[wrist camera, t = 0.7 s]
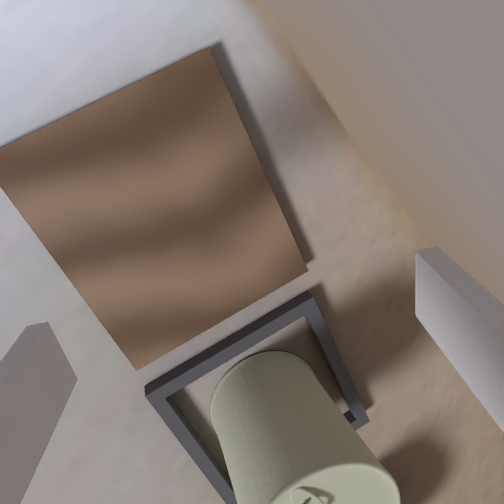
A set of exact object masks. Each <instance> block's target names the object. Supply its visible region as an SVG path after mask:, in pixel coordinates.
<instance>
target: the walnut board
mask: <svg viewBox="0 0 504 504" xmlns="http://www.w3.org/2000/svg"><path fill="white" fill-rule="evenodd" d="M0 187H1V188H2V189H3V191H4V192H5V193H6V195H7V196H8V198H9V199H10V200H11V202H12V203H13V204H14V206H15V207H16V208H17V210H18V211H19V212H20V214H21V215H22V216H23V218H24V219H25V221H26V222H27V223H28V225H29V226H30V227H31V229H32V230H33V231H34V233H35V234H36V235H37V237H38V238H39V239H40V241H41V242H42V243H43V245H44V246H45V248H46V249H47V250H48V252H49V253H50V254H51V256H52V257H53V258H54V260H55V261H56V262H57V264H58V265H59V266H60V268H61V269H62V271H63V272H64V273H65V275H66V276H67V277H68V279H69V280H70V281H71V283H72V284H73V285H74V287H75V288H76V289H77V291H78V292H79V294H80V295H81V296H82V298H83V299H84V300H85V302H86V303H87V304H88V306H89V307H90V308H91V310H92V311H93V312H94V314H95V315H96V317H97V318H98V319H99V321H100V322H101V323H102V325H103V326H104V327H105V329H106V330H107V331H108V333H109V334H110V335H111V337H112V338H113V340H114V341H115V342H116V344H117V345H118V346H119V348H120V349H121V350H122V352H123V353H124V354H125V356H126V357H127V358H128V360H129V361H130V362H131V364H132V365H133V367H134V368H135V369H136V371H137V370H139V369H140V368H142V367H144V366H146V365H147V364H149V363H151V362H152V361H154V360H156V359H158V358H159V357H161V356H163V355H164V354H166V353H168V352H170V351H171V350H173V349H175V348H176V347H178V346H180V345H182V344H183V343H185V342H187V341H189V340H190V339H192V338H194V337H195V336H197V335H199V334H201V333H202V332H204V331H206V330H207V329H209V328H211V327H213V326H214V325H216V324H218V323H220V322H221V321H223V320H225V319H226V318H228V317H230V316H232V315H233V314H235V313H237V312H238V311H240V310H242V309H244V308H245V307H247V306H249V305H251V304H252V303H254V302H256V301H257V300H259V299H261V298H263V297H264V296H266V295H268V294H269V293H271V292H273V291H275V290H276V289H278V288H280V287H282V286H283V285H285V284H287V283H288V282H290V281H292V280H294V279H295V278H297V277H299V276H300V275H302V274H304V273H306V272H307V271H308V269H307V267H306V264H305V262H304V260H303V258H302V255H301V253H300V251H299V249H298V246H297V244H296V242H295V240H294V237H293V235H292V233H291V231H290V228H289V226H288V224H287V222H286V219H285V217H284V215H283V213H282V210H281V208H280V206H279V204H278V201H277V199H276V197H275V195H274V192H273V190H272V188H271V186H270V183H269V181H268V179H267V177H266V174H265V172H264V170H263V168H262V166H261V163H260V161H259V159H258V157H257V154H256V152H255V150H254V148H253V145H252V143H251V141H250V139H249V136H248V134H247V132H246V130H245V127H244V125H243V123H242V121H241V118H240V116H239V114H238V112H237V109H236V107H235V105H234V103H233V100H232V98H231V96H230V94H229V91H228V89H227V87H226V85H225V82H224V80H223V78H222V76H221V73H220V71H219V69H218V67H217V64H216V62H215V60H214V58H213V55H212V53H211V51H210V49H209V47H208V48H206V49H204V50H202V51H199V52H197V53H195V54H193V55H191V56H189V57H187V58H185V59H183V60H181V61H179V62H177V63H175V64H173V65H171V66H169V67H167V68H164V69H162V70H160V71H158V72H156V73H154V74H152V75H150V76H148V77H146V78H144V79H142V80H140V81H138V82H136V83H134V84H132V85H129V86H127V87H125V88H123V89H121V90H119V91H117V92H115V93H113V94H111V95H109V96H107V97H105V98H103V99H101V100H99V101H97V102H94V103H92V104H90V105H88V106H86V107H84V108H82V109H80V110H78V111H76V112H74V113H72V114H70V115H68V116H66V117H64V118H62V119H59V120H57V121H55V122H53V123H51V124H49V125H47V126H45V127H43V128H41V129H39V130H37V131H35V132H33V133H31V134H29V135H27V136H24V137H22V138H20V139H18V140H16V141H14V142H12V143H10V144H8V145H6V146H4V147H2V148H0Z"/></svg>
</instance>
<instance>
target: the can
mask: <svg viewBox="0 0 504 504" xmlns="http://www.w3.org/2000/svg"><path fill="white" fill-rule="evenodd" d="M210 416H211V421H212V424H213V427H214V429H215V431H216V433H217V435H218V438H219V441H220V445H221V448H222V451H223V455H224V458H225V462H226V465H227V469H228V472H229V476H230V479H231V483H232V486H233V490H234V493H235V497H236V501H237V504H400V493H399V489H398V486H397V483H396V481H395V480H394V478H393V477H392V475H391V474H390V473H389V472H388V471H387V470H386V469H385V468H384V467H383V466H382V464H381V463H380V462H379V461H378V460H377V458H376V457H375V456H374V454H373V453H372V452H371V451H370V449H369V448H368V447H367V445H366V444H365V443H364V441H363V440H362V439H361V437H360V436H359V435H358V434H357V432H356V431H355V430H354V428H353V427H352V426H351V424H350V423H349V422H348V420H347V419H346V418H345V416H344V415H343V414H342V412H341V411H340V410H339V408H338V407H337V406H336V404H335V403H334V402H333V400H332V399H331V398H330V396H329V395H328V394H327V392H326V391H325V390H324V388H323V387H322V385H321V384H320V383H319V381H318V380H317V378H316V376H315V374H314V372H313V370H312V369H311V367H310V366H309V365H308V364H307V363H306V362H305V361H304V360H303V359H301V358H300V357H298V356H296V355H294V354H291V353H288V352H283V351H267V352H262V353H258V354H255V355H252V356H250V357H248V358H246V359H244V360H242V361H240V362H239V363H237V364H236V365H235V366H233V367H232V368H231V369H230V370H229V371H228V372H227V373H226V374H225V375H224V376H223V378H222V379H221V380H220V382H219V383H218V385H217V387H216V389H215V391H214V393H213V396H212V400H211V406H210Z"/></svg>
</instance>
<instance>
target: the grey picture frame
mask: <svg viewBox="0 0 504 504" xmlns="http://www.w3.org/2000/svg"><path fill="white" fill-rule="evenodd" d="M304 315H305V317H306V320H307V322H308V324H309V326H310V328H311V330H312V332H313V334H314V336H315V339H316V341H317V343H318V345H319V347H320V349H321V351H322V353H323V355H324V357H325V360H326V362H327V364H328V366H329V368H330V370H331V372H332V374H333V376H334V379H335V381H336V383H337V385H338V387H339V389H340V391H341V393H342V395H343V397H344V400H345V402H346V404H347V406H348V408H349V410H350V411H348V412H347V413H345V414H344V416H345V418H346V419H347V420H348V422H349V423H350V424H351V426H352V427H353V428H354V430H357V429H358V428H360V427H362V426H363V425H365V424H366V423H368V422H369V421H370V420H369V418H368V416H367V414H366V412H365V409H364V407H363V405H362V403H361V401H360V398H359V396H358V394H357V392H356V389H355V387H354V385H353V383H352V381H351V378H350V376H349V374H348V372H347V370H346V367H345V365H344V363H343V361H342V359H341V356H340V354H339V352H338V350H337V348H336V345H335V343H334V341H333V339H332V337H331V334H330V332H329V330H328V328H327V325H326V323H325V321H324V319H323V317H322V314H321V312H320V310H319V308H318V306H317V303H316V301H315V299H314V297H313V296H312V295H311V294H310V293H309V292H308V291H306V292H304V293H302V294H301V295H299V296H297V297H295V298H294V299H292V300H290V301H289V302H287V303H285V304H283V305H282V306H280V307H278V308H277V309H275V310H273V311H272V312H270V313H268V314H266V315H265V316H263V317H261V318H260V319H258V320H256V321H255V322H253V323H251V324H249V325H248V326H246V327H244V328H243V329H241V330H239V331H238V332H236V333H234V334H232V335H231V336H229V337H227V338H226V339H224V340H222V341H221V342H219V343H217V344H215V345H214V346H212V347H210V348H209V349H207V350H205V351H203V352H202V353H200V354H198V355H197V356H195V357H193V358H192V359H190V360H188V361H186V362H185V363H183V364H181V365H180V366H178V367H176V368H175V369H173V370H171V371H169V372H168V373H166V374H164V375H163V376H161V377H159V378H158V379H156V380H154V381H152V382H151V383H149V384H147V385H146V386H145V397H146V398H147V399H148V401H149V402H150V403H151V405H152V406H153V407H154V409H155V410H156V411H157V413H158V414H159V415H160V417H161V418H162V419H163V421H164V422H165V423H166V424H167V426H168V427H169V428H170V430H171V431H172V432H173V434H174V435H175V436H176V438H177V439H178V440H179V442H180V443H181V444H182V446H183V447H184V448H185V450H186V451H187V452H188V454H189V455H190V456H191V458H192V459H193V460H194V462H195V463H196V464H197V466H198V467H199V468H200V470H201V471H202V472H203V474H204V475H205V476H206V478H207V479H208V480H209V482H210V483H211V484H212V486H213V487H214V488H215V489H216V491H217V492H218V493H219V495H220V496H221V497H222V499H223V500H224V501H225V503H226V504H237V501H236V497H235V493H234V490H233V486H232V483H231V481H230V480H229V478H228V477H227V476H226V474H225V473H224V471H223V470H222V469H221V467H220V466H219V465H218V463H217V462H216V460H215V459H214V458H213V456H212V455H211V453H210V452H209V451H208V449H207V448H206V446H205V445H204V444H203V442H202V441H201V440H200V438H199V437H198V435H197V434H196V433H195V431H194V430H193V428H192V427H191V426H190V424H189V423H188V421H187V420H186V419H185V417H184V416H183V415H182V413H181V412H180V410H179V409H178V408H177V406H176V405H175V403H174V402H173V401H172V399H171V398H170V395H171V394H173V393H175V392H176V391H178V390H180V389H181V388H183V387H185V386H187V385H188V384H190V383H192V382H193V381H195V380H197V379H198V378H200V377H202V376H203V375H205V374H207V373H208V372H210V371H212V370H213V369H215V368H217V367H218V366H220V365H222V364H223V363H225V362H227V361H228V360H230V359H232V358H234V357H235V356H237V355H239V354H240V353H242V352H244V351H245V350H247V349H249V348H250V347H252V346H254V345H255V344H257V343H259V342H260V341H262V340H264V339H265V338H267V337H269V336H270V335H272V334H274V333H276V332H277V331H279V330H281V329H282V328H284V327H286V326H287V325H289V324H291V323H292V322H294V321H296V320H297V319H299V318H301V317H302V316H304Z"/></svg>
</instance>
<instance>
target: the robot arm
mask: <svg viewBox="0 0 504 504" xmlns="http://www.w3.org/2000/svg"><path fill="white" fill-rule="evenodd" d="M415 315H416V317H417V318H418V319H419V321H420V322H421V323H422V325H423V326H424V327H425V329H426V330H427V331H428V333H429V334H430V335H431V337H432V338H433V339H434V341H435V342H436V343H437V345H438V346H439V347H440V349H441V350H442V351H443V353H444V354H445V355H446V357H447V358H448V359H449V361H450V362H451V363H452V365H453V366H454V367H455V369H456V370H457V371H458V373H459V374H460V375H461V377H462V378H463V379H464V381H465V382H466V383H467V385H468V386H469V387H470V389H471V390H472V391H473V393H474V394H475V395H476V397H477V398H478V399H479V401H480V402H481V403H482V405H483V406H484V407H485V409H486V410H487V411H488V413H489V414H490V415H491V417H492V418H493V419H494V421H495V422H496V423H497V425H498V426H499V427H500V429H501V430H502V431H503V433H504V304H503V303H502V302H500V301H499V300H498V299H497V298H496V297H495V296H493V295H492V294H491V293H490V292H489V291H488V290H487V289H485V288H484V287H483V286H482V285H481V284H480V283H479V282H477V281H476V280H475V279H474V278H473V277H472V276H471V275H469V274H468V273H467V272H466V271H465V270H464V269H462V268H461V267H460V266H459V265H458V264H457V263H456V262H454V261H453V260H452V259H451V258H450V257H449V256H448V255H446V254H445V253H444V252H443V251H442V250H441V249H439V248H438V247H433V248H428V249H423V250H417V251H415ZM76 381H77V377H76V375H75V373H74V371H73V370H72V368H71V366H70V364H69V362H68V360H67V358H66V356H65V354H64V352H63V350H62V348H61V346H60V344H59V342H58V340H57V339H56V337H55V335H54V333H53V331H52V329H51V327H50V325H49V323H48V322H45V323H40V324H35V325H30V326H27V327H26V328H25V329H24V331H23V332H22V333H21V335H20V336H19V338H18V339H17V340H16V342H15V343H14V344H13V346H12V347H11V348H10V350H9V351H8V352H7V354H6V355H5V356H4V358H3V359H2V360H1V362H0V504H20V503H21V501H22V499H23V496H24V494H25V492H26V490H27V488H28V486H29V483H30V481H31V479H32V477H33V475H34V473H35V470H36V468H37V466H38V464H39V462H40V460H41V457H42V455H43V453H44V451H45V449H46V447H47V444H48V442H49V440H50V438H51V436H52V433H53V431H54V429H55V427H56V425H57V423H58V420H59V418H60V416H61V414H62V412H63V410H64V407H65V405H66V403H67V401H68V399H69V397H70V394H71V392H72V390H73V388H74V386H75V384H76Z"/></svg>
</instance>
